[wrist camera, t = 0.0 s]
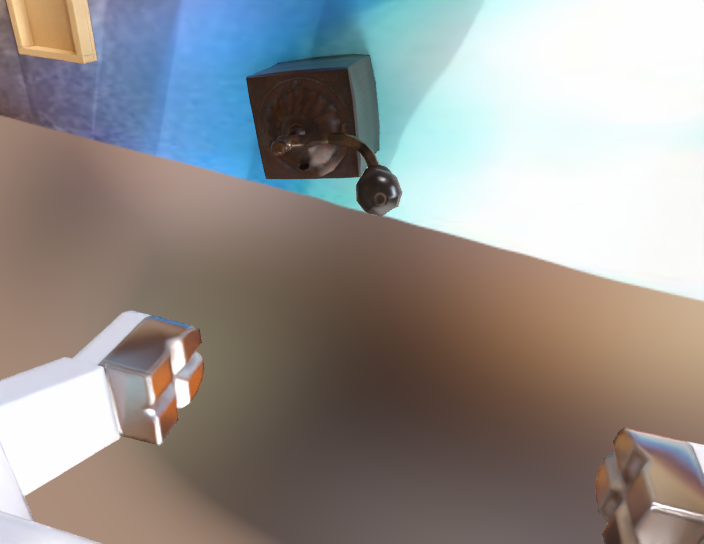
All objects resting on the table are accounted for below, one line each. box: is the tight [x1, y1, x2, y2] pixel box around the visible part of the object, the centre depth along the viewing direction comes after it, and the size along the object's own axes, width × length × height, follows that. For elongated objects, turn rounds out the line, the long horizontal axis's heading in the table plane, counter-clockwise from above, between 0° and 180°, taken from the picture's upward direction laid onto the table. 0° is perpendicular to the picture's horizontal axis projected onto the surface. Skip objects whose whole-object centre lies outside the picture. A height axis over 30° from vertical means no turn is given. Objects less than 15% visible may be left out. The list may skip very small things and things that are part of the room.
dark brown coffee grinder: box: [246, 54, 402, 216], centre depth 48 cm, size 16×11×18 cm
